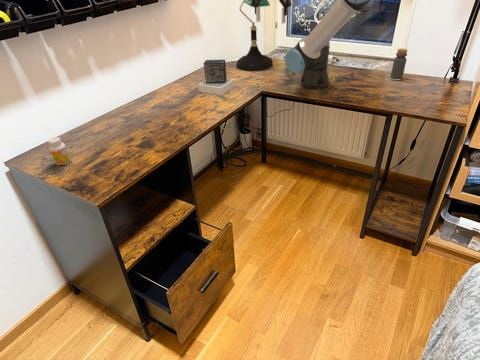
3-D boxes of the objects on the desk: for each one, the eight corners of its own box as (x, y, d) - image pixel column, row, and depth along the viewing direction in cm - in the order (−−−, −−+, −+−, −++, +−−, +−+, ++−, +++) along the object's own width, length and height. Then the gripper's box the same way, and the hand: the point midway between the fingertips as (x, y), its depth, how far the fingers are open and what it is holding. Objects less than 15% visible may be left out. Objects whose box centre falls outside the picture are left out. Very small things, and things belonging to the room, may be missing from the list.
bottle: (404, 79, 176) (411, 49, 167) (397, 81, 174) (404, 51, 165) (394, 76, 180) (400, 47, 171) (387, 78, 178) (393, 49, 169)
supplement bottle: (52, 165, 123) (42, 142, 118) (63, 157, 127) (54, 135, 122) (64, 167, 122) (54, 144, 116) (74, 159, 126) (65, 137, 120)
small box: (227, 78, 178) (225, 58, 172) (225, 83, 172) (223, 62, 166) (207, 79, 179) (205, 59, 173) (205, 83, 174) (203, 63, 168)
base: (235, 86, 180) (234, 78, 177) (221, 95, 170) (220, 87, 168) (213, 83, 186) (212, 75, 183) (199, 91, 176) (198, 83, 174)
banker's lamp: (278, 69, 199) (279, -7, 176) (241, 74, 196) (237, -3, 173) (266, 57, 221) (265, -12, 197) (232, 61, 217) (228, -9, 194)
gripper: (242, -28, 153) (244, 22, 165) (293, -29, 142) (291, 25, 155) (250, -30, 158) (251, 19, 171) (299, -30, 148) (297, 22, 160)
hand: (270, 22), depth 163 cm, fingers open, 13 cm apart
